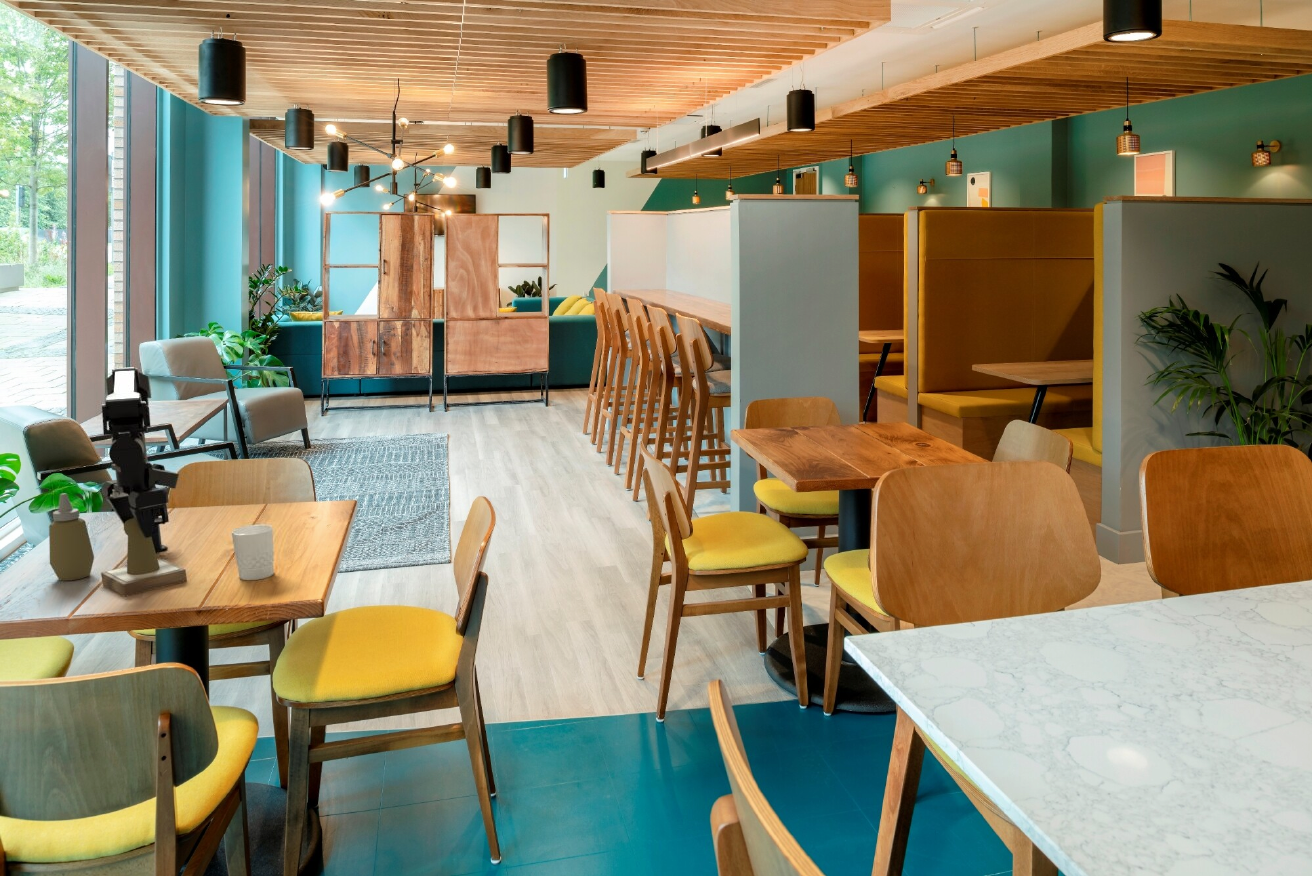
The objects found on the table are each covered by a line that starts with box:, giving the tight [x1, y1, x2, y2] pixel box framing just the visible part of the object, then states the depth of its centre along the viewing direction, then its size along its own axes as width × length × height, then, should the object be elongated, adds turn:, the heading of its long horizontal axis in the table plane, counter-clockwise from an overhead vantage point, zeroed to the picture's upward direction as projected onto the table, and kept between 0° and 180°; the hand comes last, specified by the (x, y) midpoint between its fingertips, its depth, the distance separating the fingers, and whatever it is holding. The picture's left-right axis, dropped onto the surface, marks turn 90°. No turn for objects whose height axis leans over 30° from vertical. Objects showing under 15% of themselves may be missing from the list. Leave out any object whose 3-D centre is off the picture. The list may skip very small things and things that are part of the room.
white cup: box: [231, 524, 275, 581], centre depth 202 cm, size 8×8×10 cm
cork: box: [123, 518, 160, 575], centre depth 199 cm, size 6×6×11 cm
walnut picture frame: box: [100, 558, 188, 597], centre depth 200 cm, size 12×12×3 cm
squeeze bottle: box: [48, 493, 95, 581], centre depth 203 cm, size 8×8×18 cm
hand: (139, 533), depth 198 cm, fingers open, 9 cm apart
